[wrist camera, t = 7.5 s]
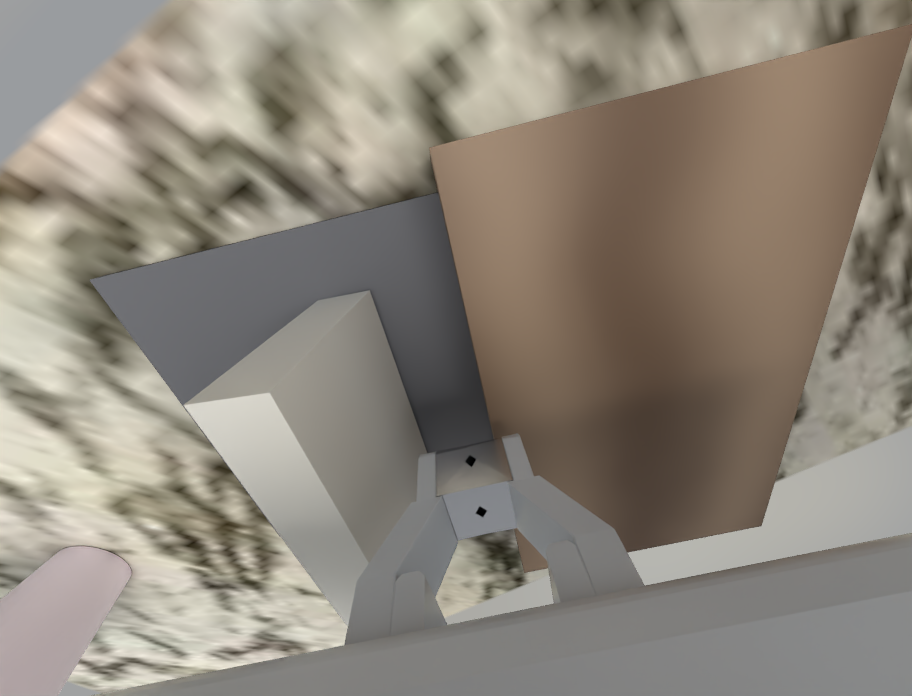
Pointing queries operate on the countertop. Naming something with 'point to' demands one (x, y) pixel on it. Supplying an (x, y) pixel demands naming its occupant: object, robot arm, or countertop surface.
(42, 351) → the countertop surface
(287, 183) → the countertop surface
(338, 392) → the tile
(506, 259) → the brown wooden block
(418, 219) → the mat
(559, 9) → the countertop surface
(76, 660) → the smoothie
